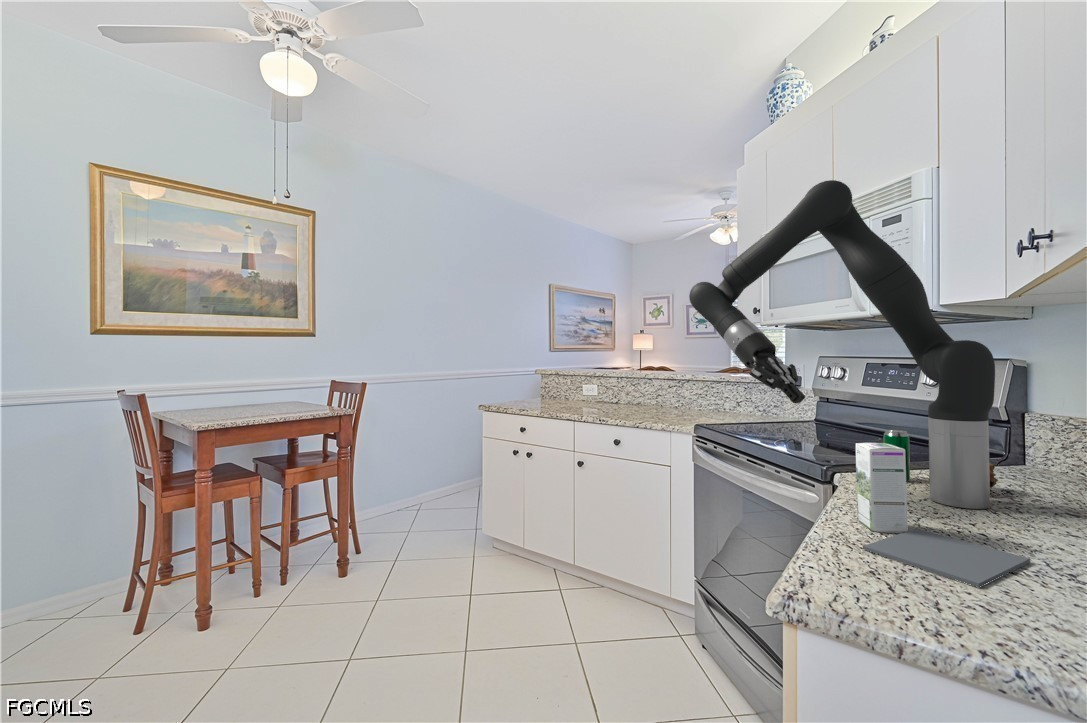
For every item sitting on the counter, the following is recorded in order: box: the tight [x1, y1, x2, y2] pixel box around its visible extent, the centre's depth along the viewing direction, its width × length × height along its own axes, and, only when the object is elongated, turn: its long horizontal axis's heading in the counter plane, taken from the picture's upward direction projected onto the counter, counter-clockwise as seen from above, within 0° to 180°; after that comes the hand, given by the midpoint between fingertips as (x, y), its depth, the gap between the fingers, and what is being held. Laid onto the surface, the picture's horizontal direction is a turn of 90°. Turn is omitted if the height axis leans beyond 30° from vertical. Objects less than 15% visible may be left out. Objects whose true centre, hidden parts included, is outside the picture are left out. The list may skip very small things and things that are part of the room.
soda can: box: [883, 429, 911, 482], centre depth 114 cm, size 5×5×12 cm
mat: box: [862, 527, 1031, 588], centre depth 70 cm, size 16×14×1 cm
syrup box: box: [855, 442, 909, 534], centre depth 82 cm, size 6×6×14 cm
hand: (800, 400), depth 95 cm, fingers closed
